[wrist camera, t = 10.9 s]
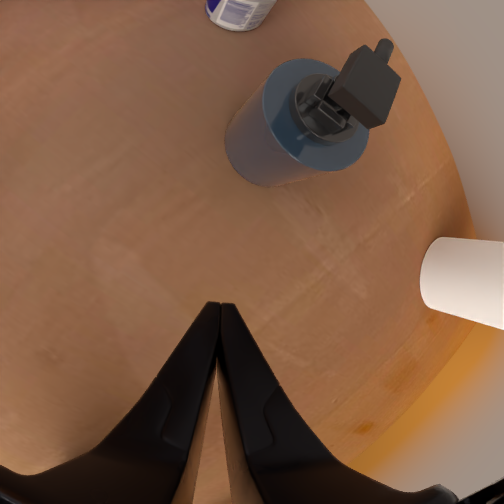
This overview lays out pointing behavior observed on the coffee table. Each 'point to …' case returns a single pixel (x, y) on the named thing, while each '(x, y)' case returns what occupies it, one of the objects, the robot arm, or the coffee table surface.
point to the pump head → (367, 84)
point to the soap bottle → (293, 127)
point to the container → (465, 279)
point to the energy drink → (238, 13)
